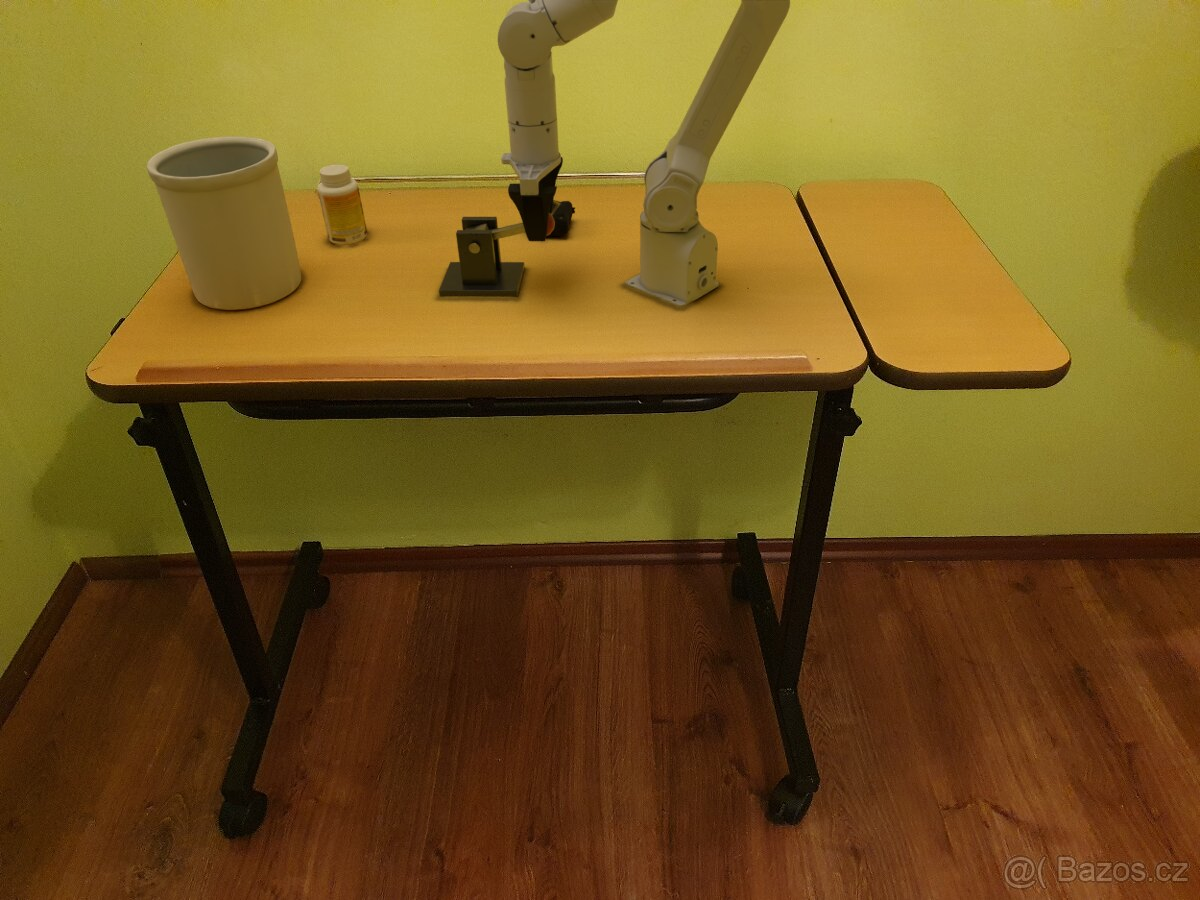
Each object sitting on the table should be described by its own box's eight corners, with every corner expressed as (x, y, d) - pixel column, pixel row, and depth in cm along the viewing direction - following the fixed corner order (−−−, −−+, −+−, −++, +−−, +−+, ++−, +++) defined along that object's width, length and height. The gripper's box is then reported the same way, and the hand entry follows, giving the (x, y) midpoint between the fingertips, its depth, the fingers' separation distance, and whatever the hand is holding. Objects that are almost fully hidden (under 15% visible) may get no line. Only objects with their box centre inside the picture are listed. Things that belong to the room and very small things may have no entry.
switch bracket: (524, 270, 121) (519, 211, 116) (517, 299, 115) (512, 238, 110) (451, 269, 122) (443, 211, 117) (439, 298, 115) (430, 238, 110)
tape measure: (568, 243, 127) (567, 217, 125) (520, 240, 128) (518, 216, 126) (575, 222, 133) (574, 198, 130) (530, 220, 134) (528, 196, 131)
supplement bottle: (375, 239, 130) (361, 169, 124) (339, 250, 127) (324, 180, 121) (357, 227, 133) (343, 158, 127) (322, 237, 131) (306, 168, 124)
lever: (558, 226, 115) (551, 203, 113) (556, 237, 112) (549, 214, 110) (474, 246, 117) (465, 223, 115) (469, 257, 114) (461, 234, 112)
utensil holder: (213, 261, 126) (173, 135, 115) (319, 259, 125) (289, 132, 114) (173, 314, 114) (124, 179, 103) (290, 311, 114) (253, 176, 103)
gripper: (506, 99, 111) (515, 204, 119) (489, 140, 99) (500, 253, 108) (563, 98, 110) (568, 204, 119) (552, 140, 99) (559, 254, 107)
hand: (540, 228), depth 113 cm, fingers open, 6 cm apart
